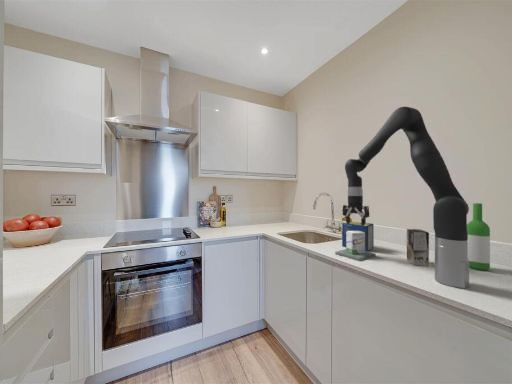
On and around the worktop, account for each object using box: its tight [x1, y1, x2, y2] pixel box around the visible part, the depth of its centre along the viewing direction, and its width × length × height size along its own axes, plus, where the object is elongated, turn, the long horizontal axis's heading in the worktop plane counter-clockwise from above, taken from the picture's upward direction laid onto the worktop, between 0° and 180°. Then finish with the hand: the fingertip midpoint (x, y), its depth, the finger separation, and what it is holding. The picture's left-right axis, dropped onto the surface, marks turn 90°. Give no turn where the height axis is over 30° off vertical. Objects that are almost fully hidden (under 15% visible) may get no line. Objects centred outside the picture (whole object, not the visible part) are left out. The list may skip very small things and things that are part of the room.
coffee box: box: [406, 228, 430, 267], centre depth 101 cm, size 9×6×16 cm
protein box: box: [341, 220, 375, 252], centre depth 129 cm, size 10×15×16 cm
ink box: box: [345, 231, 365, 254], centre depth 114 cm, size 8×5×12 cm, turn 104°
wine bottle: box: [467, 202, 491, 271], centre depth 95 cm, size 8×8×30 cm
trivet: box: [334, 248, 376, 262], centre depth 114 cm, size 14×16×1 cm
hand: (355, 224), depth 114 cm, fingers open, 8 cm apart
